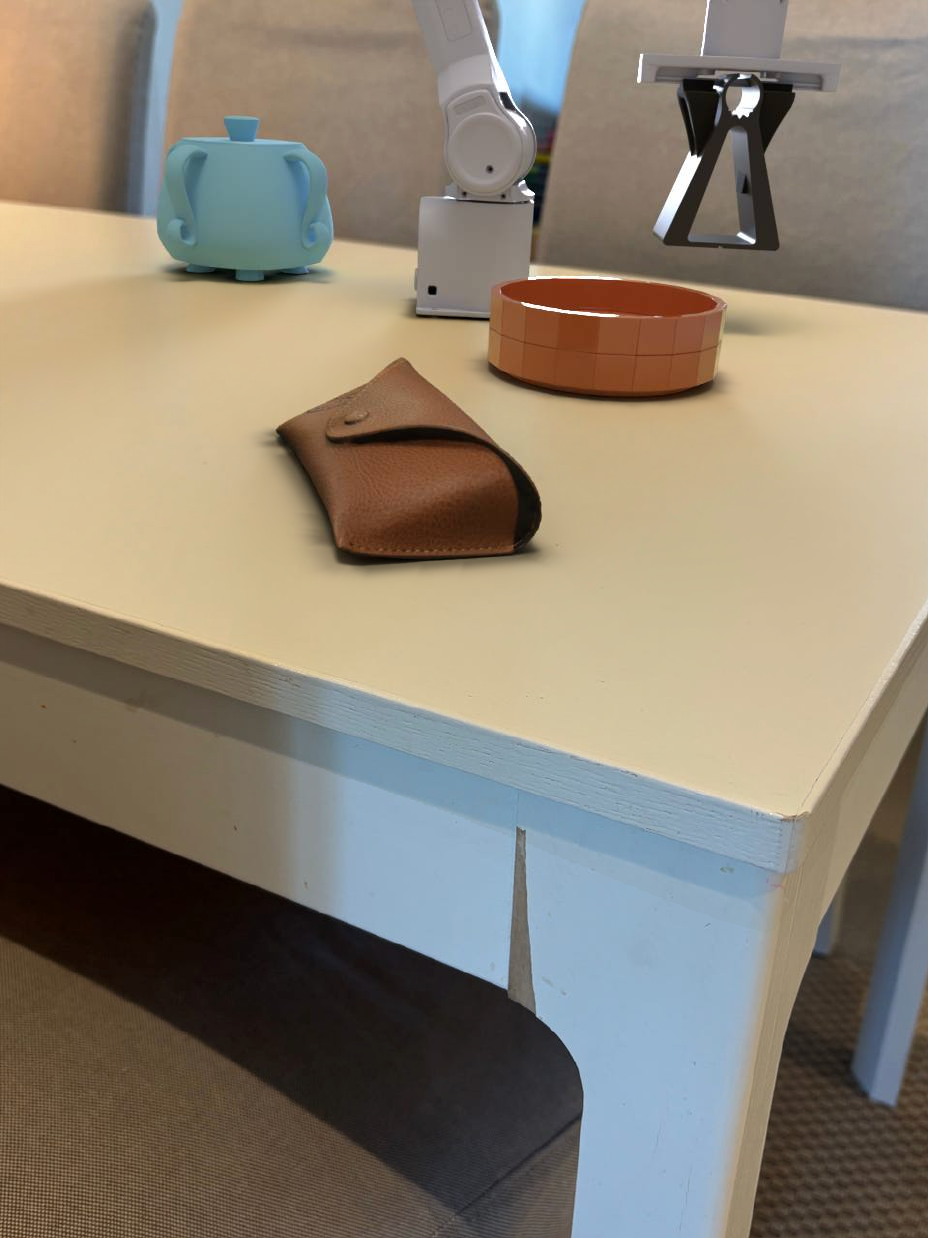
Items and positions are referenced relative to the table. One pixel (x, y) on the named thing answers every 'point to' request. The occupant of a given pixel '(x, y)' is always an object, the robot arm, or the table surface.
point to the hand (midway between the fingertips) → (721, 191)
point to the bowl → (605, 335)
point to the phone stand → (749, 160)
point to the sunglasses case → (412, 473)
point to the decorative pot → (244, 203)
